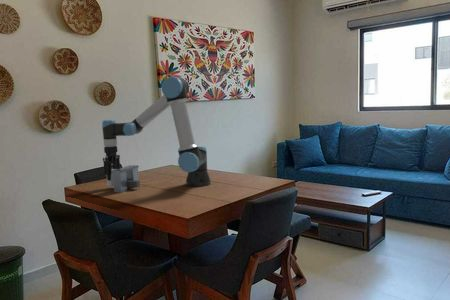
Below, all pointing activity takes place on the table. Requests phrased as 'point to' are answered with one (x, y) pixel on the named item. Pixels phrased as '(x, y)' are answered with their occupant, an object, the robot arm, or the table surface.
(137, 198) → the table surface
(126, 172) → the housing
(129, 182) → the plug
